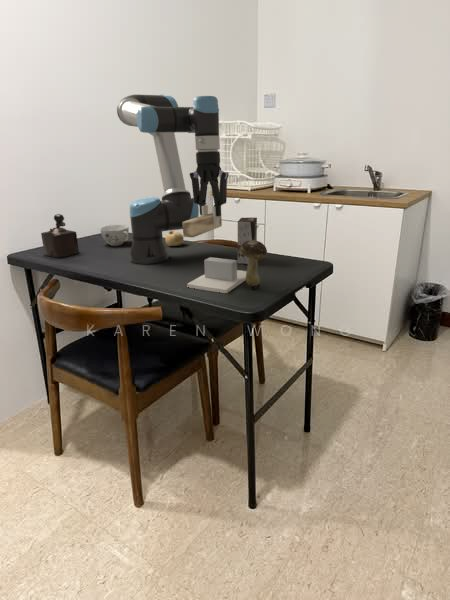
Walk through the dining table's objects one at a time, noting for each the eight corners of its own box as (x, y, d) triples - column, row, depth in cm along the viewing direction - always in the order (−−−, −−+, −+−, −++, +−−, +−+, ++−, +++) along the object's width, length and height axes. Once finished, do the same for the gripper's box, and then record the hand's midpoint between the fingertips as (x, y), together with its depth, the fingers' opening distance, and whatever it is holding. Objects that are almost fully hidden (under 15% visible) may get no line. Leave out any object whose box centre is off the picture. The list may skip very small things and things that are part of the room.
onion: (171, 243, 192) (170, 227, 189) (186, 244, 189) (186, 228, 187) (162, 247, 185) (161, 231, 182) (179, 248, 182) (178, 232, 180)
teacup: (96, 245, 190) (94, 227, 187) (118, 240, 199) (116, 223, 196) (117, 249, 181) (115, 231, 179) (139, 244, 191) (137, 226, 188)
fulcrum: (187, 287, 134) (186, 265, 131) (216, 270, 151) (216, 251, 148) (226, 293, 128) (225, 271, 125) (252, 275, 145) (252, 255, 142)
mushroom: (243, 282, 138) (243, 237, 132) (269, 284, 135) (270, 238, 130) (236, 292, 129) (235, 244, 124) (263, 294, 127) (264, 246, 121)
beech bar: (183, 236, 129) (182, 222, 127) (212, 225, 143) (212, 212, 142) (192, 237, 127) (191, 222, 125) (221, 226, 142) (221, 212, 140)
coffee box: (254, 264, 157) (254, 221, 151) (237, 263, 158) (236, 221, 152) (257, 258, 165) (257, 217, 159) (241, 257, 166) (241, 216, 161)
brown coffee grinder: (42, 255, 175) (34, 212, 169) (65, 249, 184) (59, 208, 177) (63, 260, 167) (56, 215, 160) (87, 254, 175) (81, 211, 168)
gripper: (179, 151, 132) (183, 226, 139) (225, 150, 124) (227, 229, 132) (192, 151, 138) (196, 222, 146) (236, 149, 130) (238, 225, 138)
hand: (211, 225), depth 139 cm, fingers closed on beech bar, 3 cm apart
